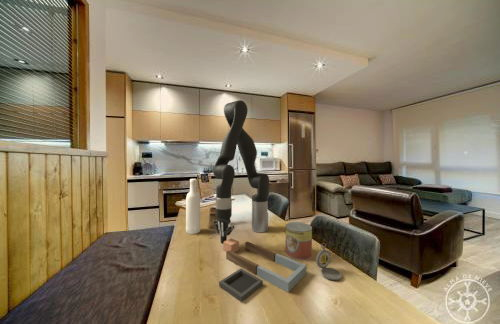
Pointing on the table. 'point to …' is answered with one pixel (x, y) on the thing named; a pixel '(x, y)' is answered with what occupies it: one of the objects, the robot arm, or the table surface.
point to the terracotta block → (231, 245)
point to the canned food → (298, 240)
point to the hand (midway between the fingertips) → (223, 243)
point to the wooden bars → (247, 263)
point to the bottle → (193, 209)
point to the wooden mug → (212, 218)
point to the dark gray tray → (241, 284)
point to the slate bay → (279, 280)
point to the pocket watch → (327, 272)
